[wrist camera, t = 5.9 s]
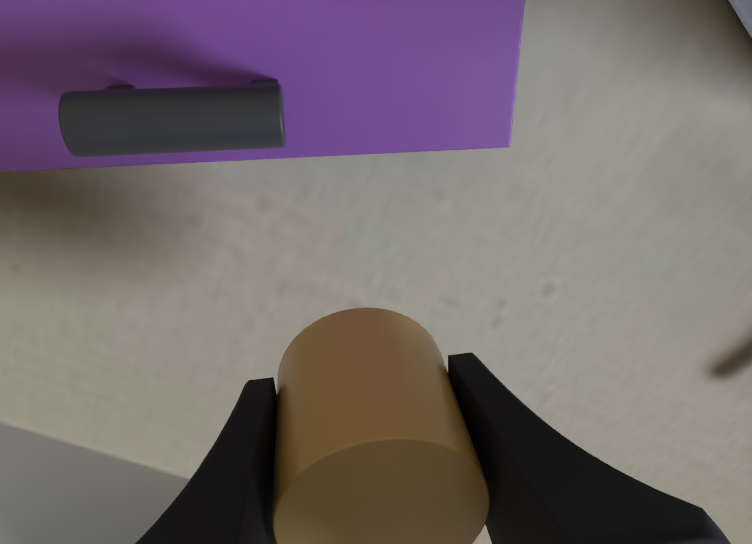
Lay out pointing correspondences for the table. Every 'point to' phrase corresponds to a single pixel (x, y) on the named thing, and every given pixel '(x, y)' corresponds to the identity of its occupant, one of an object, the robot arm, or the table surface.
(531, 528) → the robot arm
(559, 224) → the table surface
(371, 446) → the cylinder
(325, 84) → the cover
